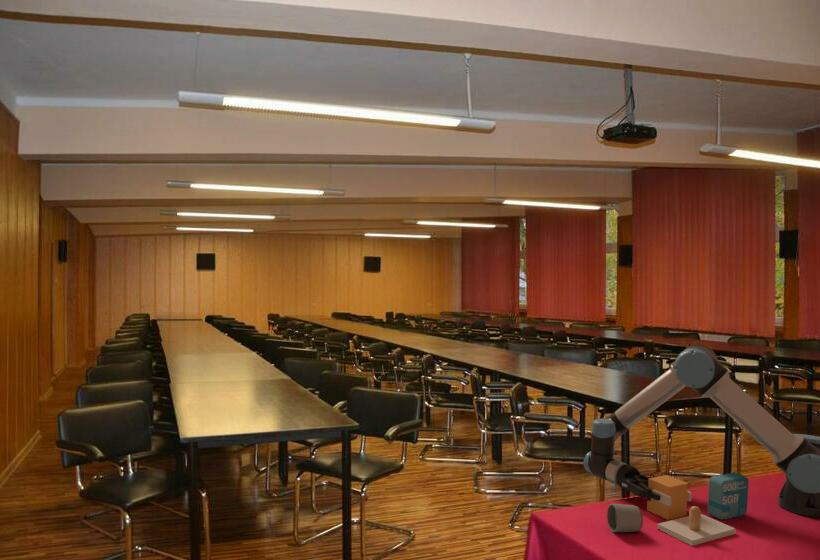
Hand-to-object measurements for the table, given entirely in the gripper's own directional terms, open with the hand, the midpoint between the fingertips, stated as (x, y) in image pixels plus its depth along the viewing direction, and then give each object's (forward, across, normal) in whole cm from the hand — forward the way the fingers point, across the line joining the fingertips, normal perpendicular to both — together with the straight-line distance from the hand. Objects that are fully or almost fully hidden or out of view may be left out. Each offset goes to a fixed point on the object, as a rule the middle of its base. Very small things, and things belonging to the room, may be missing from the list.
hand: (680, 499), depth 204 cm
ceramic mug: (-2, +21, -6) cm, 22 cm away
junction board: (+8, +3, -6) cm, 11 cm away
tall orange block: (-5, 0, -6) cm, 8 cm away
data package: (+4, -16, -6) cm, 18 cm away
